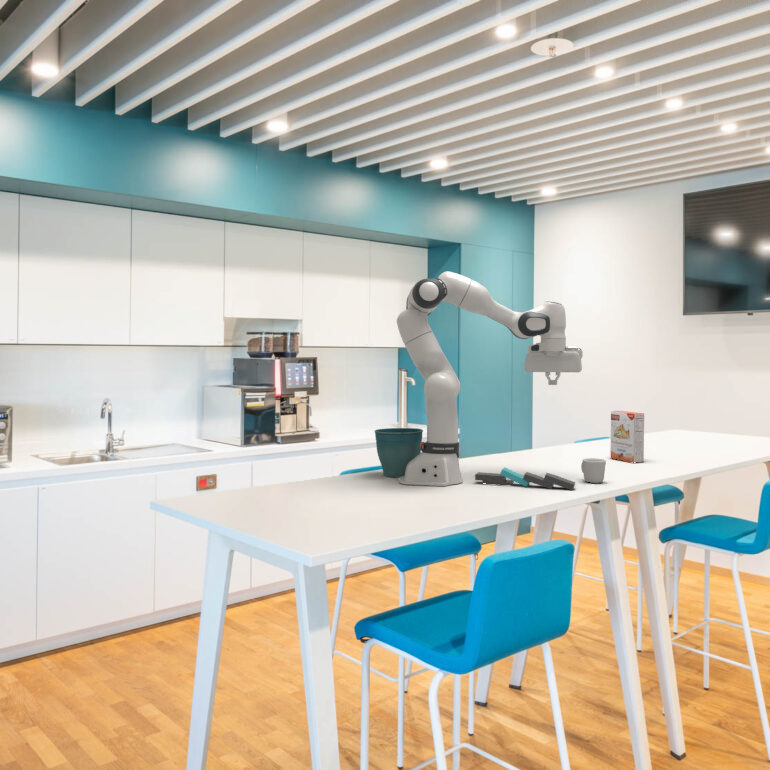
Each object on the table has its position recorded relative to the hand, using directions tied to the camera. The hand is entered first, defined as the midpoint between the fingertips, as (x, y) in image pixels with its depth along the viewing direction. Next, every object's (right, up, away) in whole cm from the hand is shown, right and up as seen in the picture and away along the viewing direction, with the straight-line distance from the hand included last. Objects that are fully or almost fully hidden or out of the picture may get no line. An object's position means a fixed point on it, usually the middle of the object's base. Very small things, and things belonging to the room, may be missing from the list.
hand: (552, 384), depth 269 cm
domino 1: (-19, -32, -11) cm, 39 cm away
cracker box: (+41, -32, +45) cm, 69 cm away
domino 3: (-4, -34, -18) cm, 38 cm away
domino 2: (-17, -34, -12) cm, 40 cm away
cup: (+13, -35, -5) cm, 37 cm away
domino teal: (-11, -34, -14) cm, 38 cm away
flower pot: (-56, -34, +8) cm, 66 cm away
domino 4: (+3, -34, -20) cm, 40 cm away
